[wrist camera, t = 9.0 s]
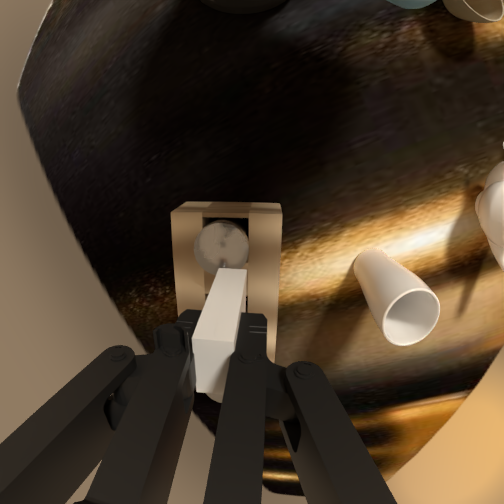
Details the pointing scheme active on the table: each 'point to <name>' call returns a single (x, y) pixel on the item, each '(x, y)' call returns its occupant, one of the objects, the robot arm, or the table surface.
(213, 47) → the table surface
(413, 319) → the drinking glass
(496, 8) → the white tapered round container
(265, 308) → the mount
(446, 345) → the table surface
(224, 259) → the knob
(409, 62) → the table surface
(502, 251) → the teapot
